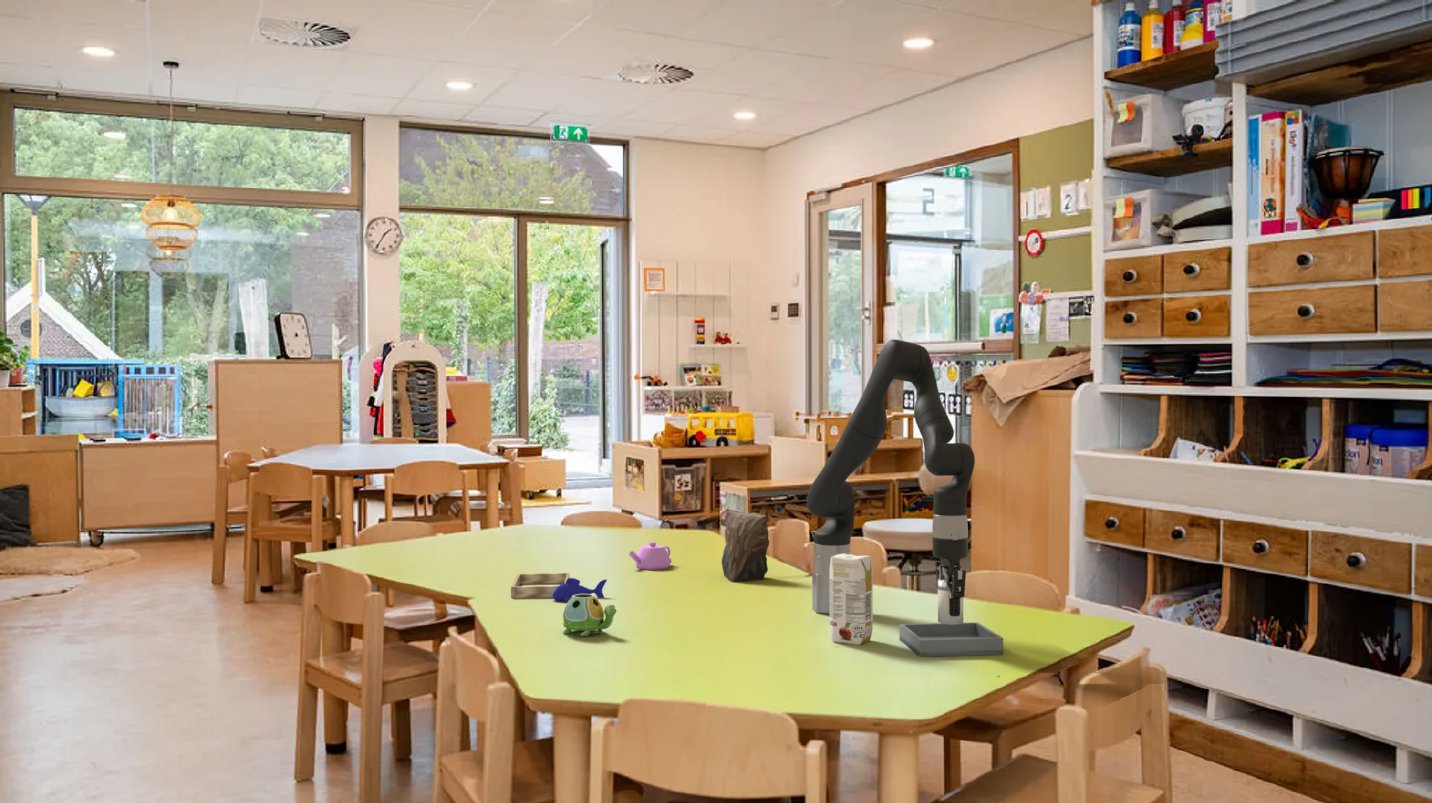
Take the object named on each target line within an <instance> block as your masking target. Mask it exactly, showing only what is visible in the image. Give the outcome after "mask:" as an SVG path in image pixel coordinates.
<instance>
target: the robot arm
mask: <svg viewBox="0 0 1432 803" xmlns="http://www.w3.org/2000/svg"><path fill="white" fill-rule="evenodd" d="M875 361H876V362H875V364H874V366H873V368H872V372H871V374H870V377H869V379H868V381H867V384H866V386H865V388H864V391H863V392H862V394H861V396H860V398H859V401H858V403H857V404H856V406H855V409H854V410H853V412H852V413H851V415H850V417H849V418H848V421H847V423H846V425H845V427H844V428H843V431H842V433H841V436H840V437H839V439H838V441H837V443H836V445H835V447H834V448H833V449H832V452H831V454H830V456H829V457H828V459H827V461H826V462H825V464H824V466H823V467H822V469H821V470H820V471H819V473H818V475H817V477H816V478H815V479H814V481H813V482H812V483H811V485H810V487H809V490H808V493H807V496H806V504H807V508H808V510H809V512H810V514H812V516H814V517H816V518H817V517H819V518H826V520H825V523H824V524H823V525H822V526H821V527H819V528H818V529H817V530H816V531H815V532H814V535H813V549H814V550H813V552H814V554H813V562H814V563H813V566H814V568H813V571H812V575H811V579H812V586H811V588H812V591H811V592H812V593H811V594H812V595H811V596H812V597H811V598H812V600H811V601H812V602H811V603H812V604H811V605H812V609H813V611H814V612H815V613H816V614H826V615H827V614H828V615H830V561H831V557H832V556H835V555H838V554H843V553H844V554H851V538H852V535H853V533H854V526H855V525H854V524H855V506H856V504H855V503H856V502H855V501H856V500H855V493H854V492H855V491H854V488H852V485H851V484H850V483H849V482H848V481H847V479H848V478H849V477H850V476H851V475H852V473H854V472H855V471H856V470H857V469H858V468H860V466H862V465H863V464H864V463H865V462H866V461H867V460H868V459H869V458H870V457H871V456H872V455H873V454H874V453H875V452H876V450H877V448H878V446H879V445H880V443H881V441H882V440H883V438H884V436H885V434H886V432H887V427H888V417H887V416H888V415H887V409H886V395H887V393H888V390H889V387H890V385H891V384H892V382H893V381H894V380H896V381H897V380H898V381H902V382H906V383H911V384H912V385H913V387H914V389H915V390H916V392H917V399H916V401H915V404H914V408H913V417H914V421H915V423H916V425H917V428H918V431H919V433H920V436H921V437H922V441H923V442H922V444H923V450H924V464H925V467H926V469H927V471H928V472H929V473H930V474H932V475H934V476H937V477H941V476H942V477H946V476H947V477H949V476H952V477H951V478H952V479H951V480H950V483H948V484H947V485H943V486H940V487H937V488H935V489H934V492H933V517H932V518H933V519H932V525H931V526H932V528H931V529H932V537H931V538H932V556H933V557H934V558H938V559H940V560H939V561H938V560H937V561H935V564H934V565H935V577H936V588H937V589H938V580H939V579H945V584H946V588H948V592H949V598H950V599H949V615H950V616H960V599H961V598H962V597H963V598H964V597H965V592H966V591H965V590H966V576H967V575H966V574H967V571H966V570H965V569H962V566H961V562H960V561H961V559H966V558H967V557H968V556H969V529H968V528H969V526H968V525H969V524H968V517H967V510H968V509H967V497H968V496H967V495H968V490H969V487H970V482H971V479H972V475H973V473H974V468H975V464H976V458H975V452H974V451H973V448H972V447H971V446H970V445H969V444H967V443H964V442H952V443H951V441H952V440H953V438H954V435H955V430H954V426H953V424H952V422H951V420H950V418H949V416H948V414H947V412H946V409H945V407H944V405H943V402H942V399H941V395H940V392H939V387H938V383H937V378H936V375H935V371H934V367H933V366H934V365H933V362H932V359H931V356H930V353H929V351H928V350H927V348H926V347H925V346H923V345H921V344H917V343H913V342H909V341H905V340H900V339H894V338H893V339H889V341H887V342H886V343H885V344H884V346H883V347H882V349H881V350H880V352H879V354H878V356H877V359H876V360H875ZM949 582H952V584H951V583H949ZM956 588H957V589H958V591H956Z"/></svg>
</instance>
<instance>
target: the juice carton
mask: <svg viewBox="0 0 1432 803" xmlns="http://www.w3.org/2000/svg"><path fill="white" fill-rule="evenodd" d="M873 572H874V570H873V563H872V557H871V555H855V554H852V553H850V554H844V553H843V554H838V555H835V556H832V557H831V561H830V614H829V634H830V640H831V642H832V643H840V644H847V645H855V646H860V645H862V644H866V643H867V642H869V641H871V638H872V634H873V629H874V628H873V626H874V624H873V623H874V622H873V618H874V617H873V614H874V613H873V609H874V608H873V607H874V605H873V604H874V603H873V598H874V596H873V592H874V591H873V590H874V586H873V584H874V583H873Z"/></svg>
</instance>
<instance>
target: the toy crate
mask: <svg viewBox="0 0 1432 803" xmlns="http://www.w3.org/2000/svg"><path fill="white" fill-rule="evenodd" d="M569 578H570V572H556V573H555V572H549V573H548V572H546V573H517V575H516V576H515V578H514V581H513V583H512V584H511V586H510V598H511V599H513V598H514V599H517V598H520V599H521V598H522V599H523V598H524V599H526V598H535V599H536V598H553V592H554V591H555V589H556V588H557V587H558V586H559V585H537V584H563V583H566V581H567V579H569ZM530 584H533V585H532V586H531V585H530ZM534 584H535V585H534ZM521 585H525V586H521ZM527 585H529V586H527ZM536 585H537V586H536Z"/></svg>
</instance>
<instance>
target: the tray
mask: <svg viewBox="0 0 1432 803" xmlns="http://www.w3.org/2000/svg"><path fill="white" fill-rule="evenodd" d="M899 641H900V642H901V643H903V644H904V645H905V646H906V647H908V648H909V650H911V651H912V652H913V653H915V655H917V656H918V657H920V658H930V657H932V658H933V657H936V658H937V657H963V656H964V657H965V656H966V657H969V656H970V657H973V656H974V657H975V656H1000V655H1001V656H1003V655H1004V637H1003V636H1001V635H1000V634H997V633H996V632H994V631H993V630H991V629H989V628H988V627H986V626H985V625H982V624H981V623H979V622H977V621H975V622H974V621H973V622H963V623H962V624H956V625H950V624H942V623H939V622H937V623H935V622H933V623H899Z"/></svg>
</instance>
